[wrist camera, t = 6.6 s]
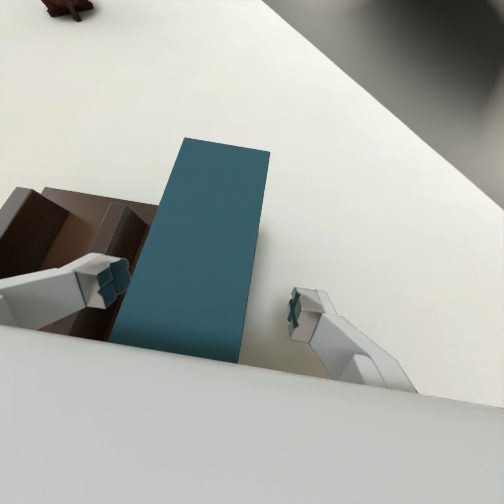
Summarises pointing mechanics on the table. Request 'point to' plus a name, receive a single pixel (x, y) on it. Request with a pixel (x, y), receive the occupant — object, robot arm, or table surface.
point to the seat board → (71, 243)
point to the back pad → (198, 255)
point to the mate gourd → (67, 7)
